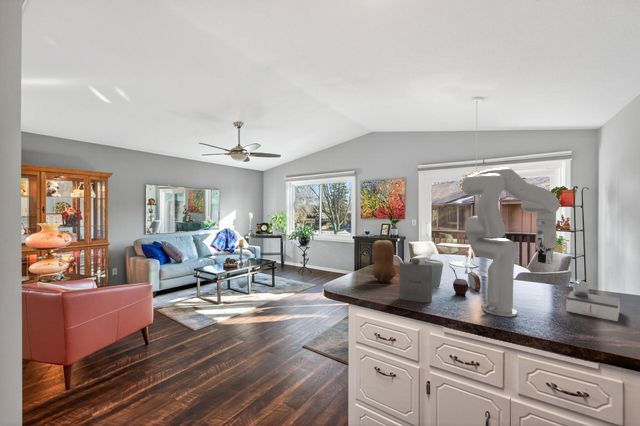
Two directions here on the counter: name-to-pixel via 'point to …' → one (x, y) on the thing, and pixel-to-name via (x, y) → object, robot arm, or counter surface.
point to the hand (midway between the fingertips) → (545, 261)
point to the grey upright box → (415, 281)
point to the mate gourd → (460, 286)
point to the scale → (594, 306)
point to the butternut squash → (384, 261)
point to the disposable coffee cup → (435, 271)
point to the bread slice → (474, 281)
